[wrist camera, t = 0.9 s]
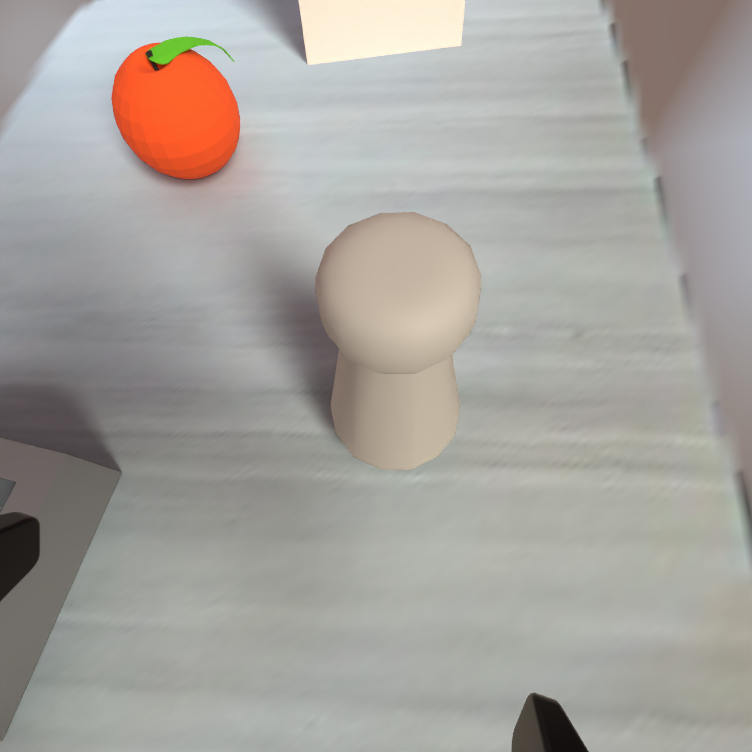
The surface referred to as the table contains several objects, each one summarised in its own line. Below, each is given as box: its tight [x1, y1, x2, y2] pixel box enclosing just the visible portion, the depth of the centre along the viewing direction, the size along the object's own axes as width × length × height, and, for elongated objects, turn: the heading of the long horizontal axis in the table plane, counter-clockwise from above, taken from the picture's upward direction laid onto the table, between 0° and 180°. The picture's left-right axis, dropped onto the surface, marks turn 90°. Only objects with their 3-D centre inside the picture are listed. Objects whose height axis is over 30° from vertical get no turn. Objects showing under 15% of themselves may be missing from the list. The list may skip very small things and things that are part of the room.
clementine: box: [112, 37, 240, 179], centre depth 27 cm, size 8×7×7 cm
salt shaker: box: [315, 212, 481, 470], centre depth 17 cm, size 6×6×13 cm
